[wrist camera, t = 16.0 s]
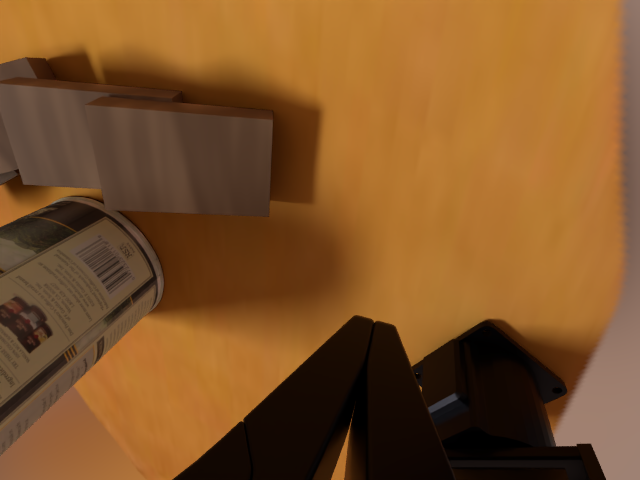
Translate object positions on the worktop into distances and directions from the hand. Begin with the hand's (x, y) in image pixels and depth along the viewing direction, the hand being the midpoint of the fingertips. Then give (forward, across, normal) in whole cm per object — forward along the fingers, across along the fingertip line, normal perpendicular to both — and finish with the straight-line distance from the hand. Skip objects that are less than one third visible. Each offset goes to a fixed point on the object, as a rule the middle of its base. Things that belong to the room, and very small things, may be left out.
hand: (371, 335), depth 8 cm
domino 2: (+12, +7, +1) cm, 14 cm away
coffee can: (+13, +20, +12) cm, 26 cm away
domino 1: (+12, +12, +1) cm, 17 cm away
